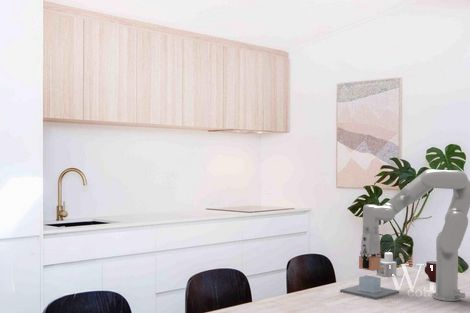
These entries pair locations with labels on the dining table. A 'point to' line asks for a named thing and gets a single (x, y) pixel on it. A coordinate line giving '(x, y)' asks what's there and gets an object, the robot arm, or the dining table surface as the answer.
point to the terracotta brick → (371, 263)
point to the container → (387, 265)
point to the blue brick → (369, 283)
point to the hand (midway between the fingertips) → (369, 267)
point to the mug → (428, 270)
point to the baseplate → (372, 295)
